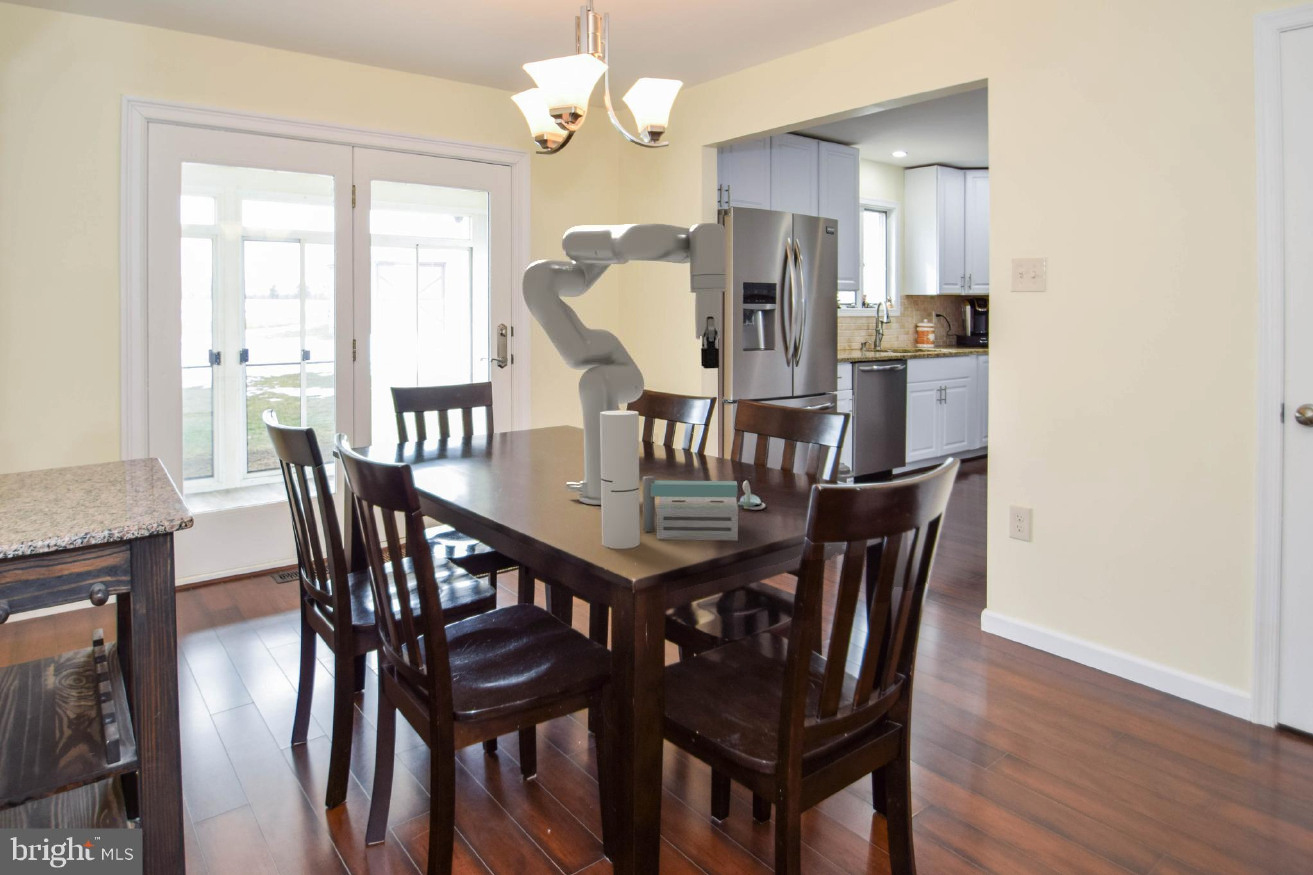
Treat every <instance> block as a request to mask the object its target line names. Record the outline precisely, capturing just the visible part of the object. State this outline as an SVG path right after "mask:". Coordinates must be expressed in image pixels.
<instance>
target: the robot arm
mask: <svg viewBox="0 0 1313 875" xmlns="http://www.w3.org/2000/svg"><path fill="white" fill-rule="evenodd" d="M726 235H727V234H726V228H725V226H724V225H723V224H721V223H716V222H705V223H697V224H694V225H692V226H691V227H682V226H677V225H672V224H665V223H631V224H630V223H629V224H606V225H605V224H604V225H603V224H602V225H600V224H599V225H597V224H596V225H591V224H590V225H588V224H587V225H577V226H574V227H571V228H570V229H568V230H567V231H566V232H565V234H564V235H563V236H562V240H561V248H562V251H563V253H564V255H565V256H566V257H567V258H568V259H569V260H570V261H568V260H559V259H541V260H537V261H535V262H532V263H531V264H529V266H528V267H526V269H525V271H524V273H523V277H522V283H521V285H522V286H521V287H522V295H523V299H524V301H525V302H524V303H525V304H526V306H527V308H528V310H529V312H530V313H531V314H532V316H533V317H534V318H535V320H536V321H537V323H538V324H539V325H540V326H541V328H542V329H543V330H544V332H545V333H546V335H547V336H548V338H549V340H550V342H551V343H552V344H553V346H554V347H555V349H556V350H557V352H558V354H559V355H560V356H561V358H562V360H563V361H564V363H565V364H566V365H567V366H568V367H569V368H571V369H573V370H578V371H581V370H585V371H584V372H583V373H582V374H581V377H580V378H579V381H578V394H579V395H578V396H579V400H580V404H581V409H582V410H581V411H582V419H583V420H582V422H583V423H582V424H583V451H584V454H583V456H584V460H583V461H584V465H583V466H584V479H583V480H580V481H579V482H575V481H574V482H573V481H570V482H568V481H567V482H566V491H570V492H579V494H578V495H577V496H578V498H577V499H578V501H579V502H581V503H583V504H587V505H593V506H594V505H595V506H601V444H600V412H604V411H616V410H621V409H620V405H623V404H630V403H633V402H636V401H637V400H639V399H640V398H641V396H642V395H643V393H644V390H645V379H644V377H643V374H642V372H641V369H640V368H639V367H638V365H637V364H636V362H635V361H634V358H632V357H631V354H630V353H629V352H628V351H627V349H626V348H625V346H624V344H622V342H621V340H620V339H619V338H618V337H617V336H616V335H615V334H614V333H612V332H611V331H609V330H607V329H601V328H590V327H587V326H586V325H585V324H584V323H583V322H582V320H581V319H580V317H579V316H578V314H577V313H576V311H575V310H574V309H573V308H572V307H571V306H570V305H569V304H568V303H566V302H565V301H564V300H563V299H562V298H561V297H565V298H568V297H569V298H576V297H580V296H582V295H584V294H586V293H587V292H588V291H589V290H590V289H591V288H592V287H593V286H594V285H595V283H597V281H599V279H600V278H601V277H602V275H604V274H605V272H607V270H608V269H609V268H610V267H611V265H624V264H627V263H629V261H641V262H642V261H643V262H644V261H647V262H648V261H649V262H650V261H651V262H663V263H673V264H689V275H690V276H689V280H690V281H689V283H690V284H689V285H690V293H693V294H695V297H694V298H695V299H694V302H695V303H694V305H695V306H694V318H695V319H694V320H695V339H696V340H701V347H700V358H701V367H703V368H704V370H705V369H706V370H708V369H709V370H710V369H719V368H720V353H719V352H720V348H719V344H718V339H720V337H721V330H722V293H724V292H725V293H726V292H727V290H728V289H727V237H726Z"/></svg>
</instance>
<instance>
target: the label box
mask: <svg viewBox="0 0 1313 875" xmlns="http://www.w3.org/2000/svg"><path fill="white" fill-rule="evenodd" d="M737 500H738V499H737V497H659V500H658V503H657V504H658V505H657V508H656V540H669V541H670V540H673V541H674V540H675V541H676V540H677V541H678V540H679V541H680V540H682V541H738V538H739V535H738V532H739V523H738V522H739V507H738V501H737Z"/></svg>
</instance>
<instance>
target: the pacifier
mask: <svg viewBox="0 0 1313 875" xmlns="http://www.w3.org/2000/svg"><path fill="white" fill-rule="evenodd" d="M742 490H743V492H744V494H743V495H742V496H741V497H740V499H739V501H737V505H739V506H740V505H741V506H743V509H746V510H751V511H752V510H754V511H757V510H762V509H765V508H766V506H767V505H766V504H765V503H764V502H761V499H760V497H759V496H758V495H756V494H753V493H752V492H751V486H750V483H749V481H748V480H745V481H743V483H742Z"/></svg>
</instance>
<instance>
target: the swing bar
mask: <svg viewBox="0 0 1313 875" xmlns="http://www.w3.org/2000/svg"><path fill="white" fill-rule="evenodd" d="M657 497H659V498H660V497H736V498H738V482H737V481H736V480H734V481H732V480H656V478H655V476H653V475H648V476H647V475H646V476H643V477H642V530H643V532H653V531H655V530H656V498H657Z"/></svg>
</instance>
